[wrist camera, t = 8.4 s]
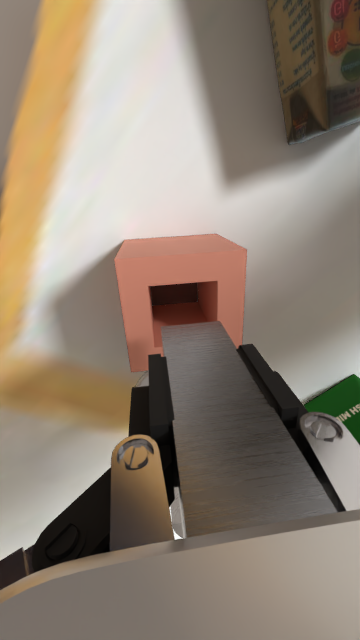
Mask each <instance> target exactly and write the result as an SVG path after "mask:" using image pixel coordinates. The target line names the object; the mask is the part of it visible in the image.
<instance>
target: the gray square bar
mask: <svg viewBox="0 0 360 640" xmlns="http://www.w3.org/2000/svg"><path fill="white" fill-rule="evenodd" d="M161 336H162V348H163V357H165V356H166V360H167V367H168V374H169V382H170V389H171V396H172V404H173V411H174V419H175V420H172V422H173V433H174V445H175V458H176V470H177V482H178V494H179V503H180V512H181V520H182V529H183V538H189V537H195V536H201V535H206V534H212V533H218V532H224V531H230V530H235V529H241V528H247V527H253V526H259V525H265V524H271V523H277V522H283V521H290V520H296V519H302V518H308V517H314V516H320V515H326V514H332V513H338V512H337V510H336V509H335V507H334V505H333V504H332V502H331V500H330V499H329V497H328V496H327V494H326V492H325V491H324V489H323V487H322V486H321V484H320V483H319V481H318V479H317V478H316V476H315V474H314V473H313V471H312V470H311V468H310V466H309V465H308V463H307V461H306V460H305V458H304V457H303V455H302V453H301V452H300V450H299V448H298V447H297V445H296V444H295V442H294V440H293V439H292V437H291V435H290V434H289V432H288V431H287V429H286V427H285V426H284V424H283V422H282V421H281V419H280V418H279V416H278V414H277V413H276V411H275V409H274V408H273V407H270V405H269V403H268V402H267V400H266V398H265V397H264V395H263V393H262V392H261V390H260V388H259V387H258V385H257V383H256V382H255V380H254V378H253V377H252V375H251V373H250V372H249V370H248V369H247V367H246V365H245V364H244V362H243V360H242V359H241V357H240V355H239V354H238V352H237V350H236V349H237V348H236V346H235V345H234V343H233V341H232V340H231V338H230V336H229V335H228V333H227V332H226V330H225V328H224V327H223V325H222V323H221V322H220V321H214V322H204V323H193V324H183V325H173V326H162V327H161Z"/></svg>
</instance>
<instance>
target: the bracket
mask: <svg viewBox="0 0 360 640" xmlns="http://www.w3.org/2000/svg"><path fill="white" fill-rule="evenodd" d="M246 260H247V249H245V248H243V247H241V246H239V245H237V244H235V243H233V242H231V241H229V240H227V239H225V238H223V237H222V236H220V235H218V234H207V235H192V236H177V237H161V238H146V239H131V240H124V242H123V244H122V246H121V247H120V249H119V251H118V253H117V255H116V257H115V259H114V261H115V267H116V274H117V281H118V287H119V294H120V301H121V307H122V314H123V321H124V327H125V334H126V341H127V347H128V354H129V361H130V367H131V372H138V371H147V370H148V355H151V354H160V353H161V357H163V348H162V336H161V327H162V326H173V325H183V324H193V323H204V322H214V321H220V322H221V323H222V325H223V327H224V328H225V330H226V332H227V333H228V335H229V336H230V338H231V340H232V341H233V343H234V345H235V346H236V348H237V349H238V347H239V345H242V335H243V316H244V298H245V279H246ZM195 282H197V293H198V302H189V303H177V304H165V305H154V306H152V298H151V288H150V286H157V285H170V284H182V283H195Z"/></svg>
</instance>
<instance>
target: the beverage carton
mask: <svg viewBox="0 0 360 640" xmlns="http://www.w3.org/2000/svg"><path fill="white" fill-rule="evenodd" d="M267 4H268V11H269V18H270V25H271V33H272V40H273V48H274V55H275V62H276V69H277V76H278V83H279V89H280V95H281V100H282V106H283V111H284V119H285V126H286V132H287V142H288V145H291V144H294V143H301V142H305V141H307V140H309V139H311V138H313V137H316V136H319V135H321V134H324V133H327V132H329V131H332V130H335V129H339V128H342V127H345V126H347V125H350V124H353V123H356V122H359V121H360V0H267Z"/></svg>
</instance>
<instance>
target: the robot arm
mask: <svg viewBox="0 0 360 640" xmlns="http://www.w3.org/2000/svg"><path fill="white" fill-rule="evenodd" d="M236 350H237V352H238V354H239V355H240V357H241V359H242V360H243V362H244V364H245V365H246V367H247V369H248V370H249V372H250V373H251V375H252V377H253V378H254V380H255V382H256V383H257V385H258V387H259V388H260V390H261V392H262V393H263V395H264V397H265V398H266V400H267V402H268V403H269V405H270V407H273V408H274V409H275V411H276V413H277V414H278V416H279V418H280V419H281V421H282V422H283V424H284V426H285V427H286V429H287V431H288V432H289V434H290V435H291V437H292V439H293V440H294V442H295V444H296V445H297V447H298V448H299V450H300V452H301V453H302V455H303V457H304V458H305V460H306V461H307V463H308V465H309V466H310V468H311V470H312V471H313V473H314V474H315V476H316V478H317V479H318V481H319V483H320V484H321V486H322V487H323V489H324V491H325V492H326V494H327V496H328V497H329V499H330V500H331V502H332V504H333V505H334V507H335V509H336V510H337V512H338V513H332V514H326V515H320V516H314V517H308V518H302V519H296V520H290V521H283V522H277V523H271V524H265V525H259V526H253V527H247V528H241V529H235V530H230V531H224V532H218V533H212V534H206V535H201V536H195V537H189V538H183V539H177V540H175V539H174V533H173V527H172V522H171V516H170V510H169V507H170V506H171V504H172V503H173V502H174V500H175V493H174V488H175V487H178V482H177V470H176V458H175V445H174V433H173V422H172V420H175V419H174V411H173V404H172V396H171V389H170V382H169V374H168V367H167V360H166V356H165V357H161V353H160V354H151V355H148V371H149V386H141V387H132V393H131V407H130V422H129V437H127V438H125V439H124V440H122V441H121V442H120V443H119V444H118V445H117V446H116V447H115V449H114V450H113V452H112V457H111V468H110V469H109V470H107V471H106V472H105V473H104V474H103V475H102V476H101V477H100V478H99V479H98V480H97V481H96V482H94V483H93V484H92V485H91V486H90V487H89V488H88V489H87V490H86V491H85V492H84V493H83V494H81V495H80V496H79V497H78V498H77V499H76V500H75V501H74V502H73V503H72V504H71V505H70V506H68V507H67V508H66V509H65V510H64V511H63V512H62V513H61V514H60V515H59V516H58V517H57V518H55V519H54V520H53V521H52V522H51V523H50V524H49V525H48V526H47V527H46V528H45V530H44V531H43V532H42V533H41V534H40V536H39V538H38V540H37V541H36V543H35V544H34V545H32V546H31V547H29V548H28V549H26V550H25V551H24V549H23V547H22V548H20V549H18V550H17V551H15V552H14V553H12V554H10V555H9V556H7V557H6V558H4V559H2V560H1V561H0V640H360V443H359V442H357V441H356V440H355V438H354V437H353V436H352V434H351V433H350V432H349V430H348V429H347V428H346V426H345V425H344V424H343V423H342V422H341V421H339V420H338V419H336V418H335V417H333V416H331V415H328V414H325V413H321V412H308V411H307V410H306V408H305V407H304V406H303V405H302V403H301V402H300V401H299V399H298V398H297V397H296V395H295V394H294V393H293V392H292V390H291V389H290V388H289V386H288V385H287V384H286V382H285V381H284V380H283V378H282V377H281V376H280V375H279V373H278V372H276V371H272V369H271V368H270V367H269V365H268V364H267V363H266V361H265V360H264V359H263V357H262V356H261V355H260V353H259V352H258V351H257V349H256V348H255V347H254V345H253V344H246V345H239V347H238V349H236Z"/></svg>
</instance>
